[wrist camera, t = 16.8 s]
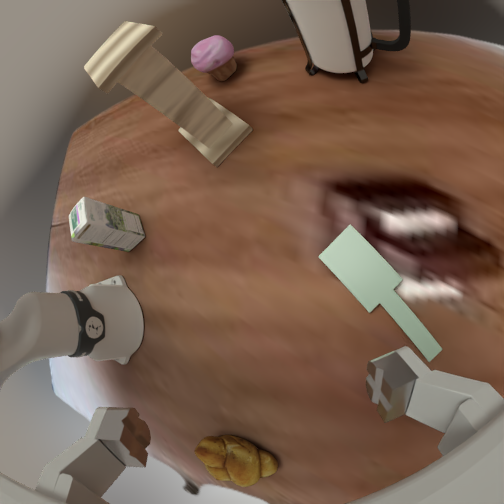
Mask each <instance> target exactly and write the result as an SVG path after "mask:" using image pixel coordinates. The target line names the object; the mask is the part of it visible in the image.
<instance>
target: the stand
mask: <svg viewBox="0 0 504 504" xmlns="http://www.w3.org/2000/svg"><path fill="white" fill-rule="evenodd" d="M161 35H163V33H162V32H160V31H159V30H158V29H157V28H156V27H154V26H150V25H145V24H139V23H132V22H126V21H125V22H124V23H123V24H122V25H121V26H120V27H119V28H118V29H117V30H116V31H115V32H114V33H113V34H112V35H111V36H110V37H109V38H108V39H107V40H106V41H105V43H104V44H103V45H102V46H101V47H100V48H99V49H98V50H97V52H96V53H95V54H94V55H93V56H92V57H91V59H90V60H89V61H88V62H87V64H86V65H85V66H84V68H85V70H86V71H87V73H88V74H89V76H90V77H91V78H92V80H93V81H94V83H95V84H96V85H97V87H98V88H99V89H101V90H102V91H104V92H106V93H109V92H110V90H111V89H112V88H113V87H114V85H115V84H116V83H117V82H118V83H120V84H121V85H123V86H124V87H126V88H128V89H129V90H130V91H132V92H133V93H134V94H136V95H137V96H139V97H140V98H142V99H143V100H144V101H146V102H147V103H149V104H150V105H151V106H153V107H154V108H156V109H157V110H158V111H160V112H161V113H163V114H164V115H165V116H167V117H168V118H169V119H171V120H172V121H173V122H175V123H176V124H177V125H179V126H180V127H181V128H180V129H179V130H178V131H179V132H180V133H181V134H182V135H183V136H184V137H185V138H186V139H187V140H188V141H189V142H190V143H192V144H193V145H194V146H195V147H196V148H197V149H198V150H199V151H200V152H201V153H202V154H203V155H204V156H205V157H206V158H207V159H208V160H209V161H210V162H211V163H212V164H213V165H214V166H216V167H218V166H219V165H220V164H221V163H222V161H223V160H224V159H225V158H226V157H227V156H228V155H229V154H230V153H231V152H232V151H233V150H234V149H235V148H236V147H237V146H238V145H239V144H240V143H241V141H242V140H243V139H244V138H245V137H246V136H247V135H248V134H249V133H250V132H251V131H252V130H253V129H252V128H251V127H250V126H249V125H248V124H247V123H245V122H244V121H243V120H241V119H240V118H238V117H237V116H236V115H234V114H233V113H231V112H230V111H228V110H227V109H225V108H224V107H223V106H221V105H220V104H218V103H217V102H215V101H214V100H212V99H211V98H207V97H206V96H205V95H204V94H203V93H202V92H201V91H200V90H199V89H198V88H197V87H196V86H195V85H194V84H193V83H192V82H191V81H190V80H189V79H188V78H187V77H185V76H184V75H183V74H182V73H181V72H180V71H179V70H178V69H177V68H176V67H175V66H174V65H173V64H171V63H170V62H169V61H168V60H167V59H166V58H165V57H164V56H162V55H161V54H160V53H159V52H158V51H157V50H156V49H154V48H153V47H152V46H151V45H152V44H153V43H154V42H155V41H156V40H157V39H158V38H159V37H160V36H161Z"/></svg>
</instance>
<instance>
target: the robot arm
mask: <svg viewBox="0 0 504 504" xmlns="http://www.w3.org/2000/svg"><path fill="white" fill-rule="evenodd" d="M143 330H144V324H143V316H142V311H141V308H140V305H139V303H138V301H137V299H136V297H135V296H134V294H133V293H132V292H131V291H130V290H129V289H128V287H127V285H126V283H125V280H124V278H123V277H122V276H115V277H112V278H109V279H107V280H104V281H102V282H99V283H96V284H90V285H89V286H88V287H85V288H84V289H82V290H80V291H73V290H68V291H62V292H61V293H44V292H29V293H27V294H25V295H23V296H22V297H21V298H20V299H19V300H18V301H17V303H16V305H15V307H14V309H13V311H12V312H11V314H10V315H9V316H8V317H7V318H6V319H4V320H2V321H0V390H1V388H2V386H3V384H4V383H5V381H6V380H7V379H8V378H9V377H10V375H12V374H13V373H14V372H16V371H17V370H18V369H20V368H21V367H23V366H25V365H26V364H29V363H31V362H34V361H37V360H42V359H48V358H54V357H60V356H69V357H82V356H87V355H88V356H89V357H90V358H92V359H94V361H104V360H112V359H114V360H115V361H117V362H119V363H120V364H127V363H128V361H129V359H130V356H131V355H132V354H133V353H134V352H135V351H136V350H137V349H138V348H139V346H140V344H141V341H142V338H143ZM367 371H368V372H369V375H368V376H367V378H366V389H367V393H368V396H369V398H370V399H371V401H372V402H374V403H376V404H378V407H377V411H378V413H379V414H380V416H381V418H382V419H383V421H384V423H386V422H388V421H390V420H393V419H395V418H397V417H400V416H402V415H404V414H406V415H407V416H409V417H411V418H413V419H415V420H417V421H419V422H422V423H424V424H426V425H428V426H430V427H432V428H434V429H436V430H439V431H441V432H443V433H445V434H444V436H443V438H442V439H441V441H440V443H439V445H438V449H439V450H440V452H441V454H442V455H443V457H441V458H440V459H438V460H436V461H435V462H433V463H431V464H430V465H428V466H426V467H425V468H423V469H421V470H419V471H418V472H416V473H414V474H412V475H410V476H408V477H406V478H404V479H403V480H401V481H399V482H396V483H394V484H392V485H390V486H388V487H386V488H384V489H381V490H379V491H377V492H374V493H372V494H369V495H367V496H364V497H362V498H359V499H356V500H354V501H351V502H348V503H345V504H504V399H503V398H502V397H501V396H500V395H499V394H498V392H497V391H496V390H495V389H494V388H493V387H492V386H491V385H490V384H488V383H485V382H481V381H477V380H472V379H468V378H464V377H460V376H456V375H453V374H449V373H445V372H441V371H438V370H433V371H431V370H430V369H429V368H428V367H427V366H426V365H425V364H424V363H423V362H422V361H421V360H420V358H419V357H418V356H417V355H416V354H415V353H414V352H413V351H412V350H411V349H410V348H409V347H407V346H404V347H402V348H400V349H398V350H395V351H393V352H390V353H388V354H386V355H383V356H381V357H378V358H376V359H373V360H371V361H369V362H368V364H367ZM138 417H139V413H138V412H137V410H136V409H135V408H116V407H98V408H97V409H96V410H95V413H94V415H93V418H92V420H91V422H90V425H89V427H88V430H87V432H86V435H85V437H84V438H80V439H79V440H77V441H76V442H75V443H74V444H72V445H71V446H70V447H69V448H67V449H66V450H65V451H64V452H62V453H61V454H60V455H58V456H57V457H56V458H55V459H53V460H52V461H51V462H49V463H48V464H47V465H45V466H44V468H43V471H42V473H41V476H40V479H39V481H38V484H37V487H36V489H35V490H33V489H31V488H29V487H27V486H25V485H23V484H21V483H19V482H17V481H15V480H13V479H11V478H9V477H8V476H6V475H4V474H2V473H0V504H109V503H108V502H106V501H105V500H103V499H102V498H101V497H102V495H103V494H104V493H105V492H106V491H107V490H108V488H109V487H110V486H111V485H112V484H113V482H114V481H115V480H116V479H117V478H118V476H119V475H120V474H121V473H122V472H123V471H124V469H125V468H126V467H125V466H129V467H146V462H147V456H148V453H147V451H146V449H145V448H146V447H147V446H148V445H149V444H150V440H151V436H150V430H149V428H148V425H147V424H146V423H145V421H143V420H141V419H139V418H138Z"/></svg>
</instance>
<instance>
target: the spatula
mask: <svg viewBox="0 0 504 504" xmlns="http://www.w3.org/2000/svg"><path fill="white" fill-rule="evenodd" d="M318 257H319V258H320V259H321V260H322V261H323V262H324V263H325V264H326V265H327V267H328V268H329V269H330V270H331V271H332V272H333V273H334V274H335V275H336V276H337V277H338V278H339V280H340V281H341V282H342V283H343V284H344V285H345V286H346V287H347V288H348V289H349V290H350V292H351V293H352V294H353V295H354V296H355V297H356V298H357V299H358V300H359V302H360V303H361V304H362V305H363V306H364V307H365V308H366V309H367V311H368V312H369V313H370V312H371V311H372V310H373V309H374V308H375V307H376V306H377V305H378V304H379V303H380V304H381V305H382V306H383V307H384V308H385V310H386V311H387V312H388V313H389V314H390V315H391V317H392V318H393V319H394V320H395V321H396V322H397V324H398V325H399V326H400V327H401V328H402V329H403V331H404V332H405V333H406V334H407V335H408V337H409V338H410V339H411V340H412V341H413V343H414V344H415V345H416V346H417V348H418V349H419V350H420V351H421V353H422V354H423V355H424V356H425V358H426V359H427V360H428V361H429V362H430V361H431V360H432V359H433V358H434V357H435V356H436V355H437V354H438V353H439V352H440V351H441V350H442V348H441V347H440V345H439V344H438V343H437V342H436V340H435V339H434V338H433V337H432V335H431V334H430V333H429V332H428V330H427V329H426V328H425V327H424V325H423V324H422V323H421V322H420V320H419V319H418V318H417V317H416V316H415V314H414V313H413V312H412V311H411V310H410V309H409V307H408V306H407V305H406V304H405V303H404V301H403V300H402V299H401V298H400V297H399V296H398V295H397V293H396V292H395V291H394V290H393V289H394V288H395V287H396V286H397V285H398V284H399V283H400V282H401V281H402V280H403V279H402V278H401V277H400V276H399V275H398V274H397V272H396V271H395V270H394V269H393V268H392V267H391V266H390V265H389V264H388V263H387V262H386V260H385V259H384V258H383V257H382V256H381V255H380V254H379V253H378V252H377V251H376V250H375V249H374V248H373V247H372V246H371V245H370V244H369V243H368V242H367V241H366V240H365V239H364V238H363V237H362V236H361V235H360V234H359V233H358V232H357V231H356V230H355V229H354V228H353V227H352V226H351V225H349V226H348V227H347V228H346V229H345V230H344V231H343V232H342V233H341V234H340V235H339V236H338V237H337V238H336V239H335V240H334V241H333V242H332V243H331V244H330V245H329V246H328V247H327V248H326V249H325V250H324V251H323V252H322V253H321V254H320V255H319V256H318Z"/></svg>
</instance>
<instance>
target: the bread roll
mask: <svg viewBox="0 0 504 504" xmlns="http://www.w3.org/2000/svg"><path fill="white" fill-rule="evenodd" d="M194 452H195V454H196V456H197V457H198V458H199V459H200V460H201V461H202V462H204V464H205V466H206V469H207V470H208V472H209V473H210V474H211V475H212V476H213V477H215V479H217V480H223V481H231V480H232V481H233V482H234V483H235V484H237V485H239V486H243V487H247V486H251V485H254V484H255V483H257V482H258V480H259V478H262V477H267V476H270V475H272V474H274V473H275V472H276V471H277V468H278V462H277V460H276V459H275V458H274V457H273V456H272V455H271V454H270V453H269V452H267V451H264V450H260V449H257V448H256V446H255V445H253V444H252V443H250V442H249V441H247V440H245V439H242V438H240V437H236V436H232V435H222V436H220V437H214V436H208V437H205V438H204V439H203V440H201V442H200V443H199V444H198V446H197V447H196V449H195V451H194Z"/></svg>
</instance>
